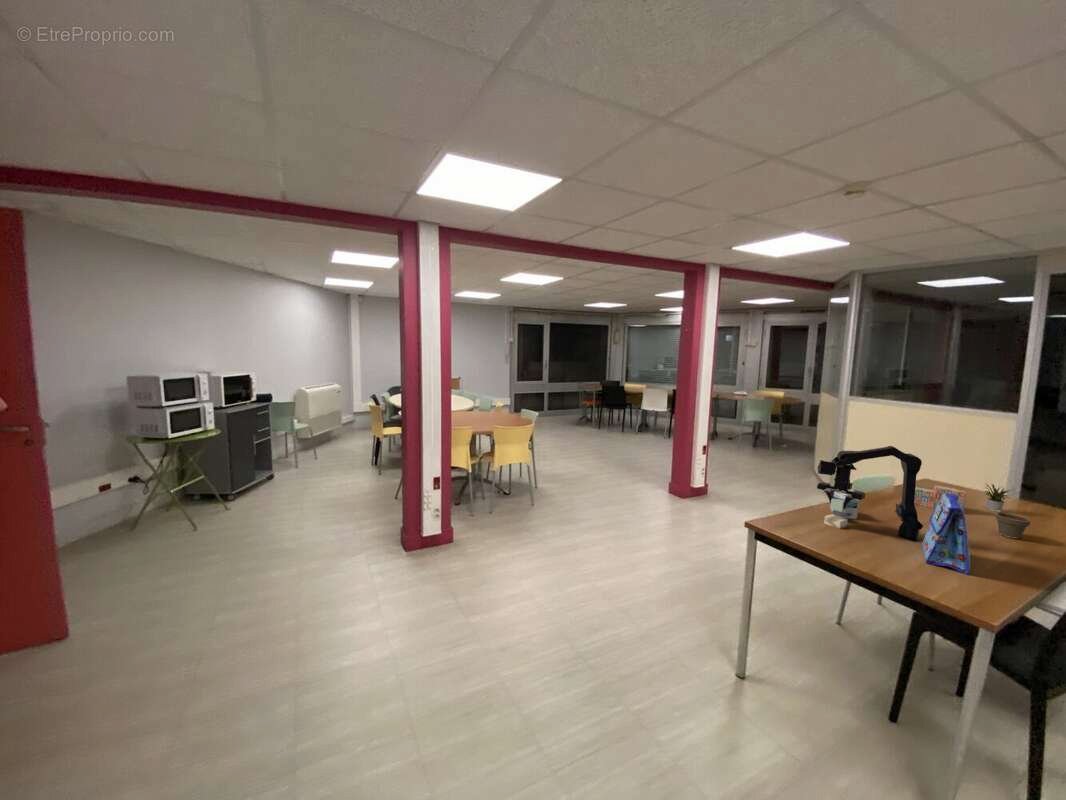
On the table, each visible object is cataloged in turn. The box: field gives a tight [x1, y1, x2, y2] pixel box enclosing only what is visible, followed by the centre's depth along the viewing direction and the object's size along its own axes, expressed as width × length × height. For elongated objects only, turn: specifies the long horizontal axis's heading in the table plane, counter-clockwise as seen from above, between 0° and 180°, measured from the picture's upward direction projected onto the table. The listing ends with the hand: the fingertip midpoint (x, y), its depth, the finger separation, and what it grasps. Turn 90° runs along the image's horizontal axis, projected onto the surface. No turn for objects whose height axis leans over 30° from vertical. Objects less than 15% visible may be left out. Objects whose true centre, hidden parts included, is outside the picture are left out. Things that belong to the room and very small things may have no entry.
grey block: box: [832, 510, 846, 518], centre depth 219 cm, size 5×5×5 cm
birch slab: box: [823, 513, 849, 530], centre depth 211 cm, size 7×7×4 cm
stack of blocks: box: [914, 484, 968, 511], centre depth 244 cm, size 21×6×12 cm, turn 56°
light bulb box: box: [830, 491, 860, 520], centre depth 225 cm, size 11×7×11 cm, turn 179°
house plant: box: [983, 483, 1016, 511], centre depth 244 cm, size 14×14×16 cm
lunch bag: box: [921, 493, 971, 575], centre depth 178 cm, size 22×14×29 cm, turn 141°
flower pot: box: [994, 512, 1031, 539], centre depth 208 cm, size 12×11×10 cm
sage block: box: [829, 497, 846, 512], centre depth 210 cm, size 5×5×5 cm
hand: (838, 507), depth 210 cm, fingers closed on sage block, 5 cm apart
